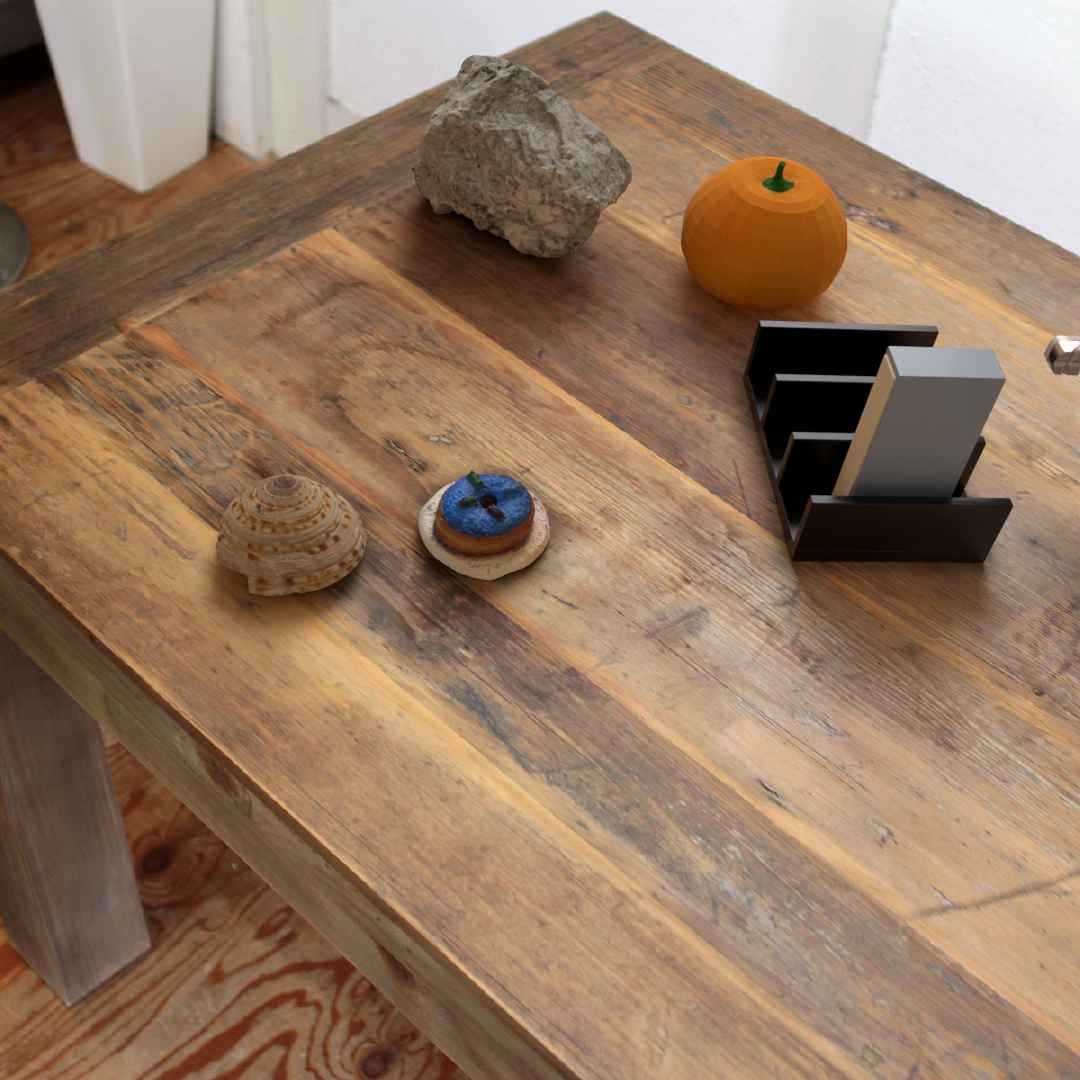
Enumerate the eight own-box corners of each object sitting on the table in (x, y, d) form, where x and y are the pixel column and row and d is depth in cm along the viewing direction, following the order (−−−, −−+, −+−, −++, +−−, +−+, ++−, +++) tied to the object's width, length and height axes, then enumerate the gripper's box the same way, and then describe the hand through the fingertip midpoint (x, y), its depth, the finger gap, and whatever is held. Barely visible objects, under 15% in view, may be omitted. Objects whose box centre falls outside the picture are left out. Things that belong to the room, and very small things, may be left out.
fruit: (844, 338, 94) (885, 217, 86) (679, 326, 93) (706, 203, 85) (818, 239, 102) (854, 121, 94) (666, 227, 101) (690, 107, 93)
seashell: (191, 577, 71) (226, 440, 73) (212, 607, 76) (244, 478, 79) (343, 601, 71) (373, 464, 73) (354, 630, 76) (381, 500, 79)
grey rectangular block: (935, 529, 80) (1006, 379, 72) (837, 528, 80) (897, 375, 71) (924, 499, 82) (992, 348, 73) (828, 498, 81) (885, 345, 73)
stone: (577, 237, 88) (389, 126, 90) (570, 317, 100) (404, 218, 102) (652, 131, 90) (467, 24, 92) (636, 221, 102) (473, 126, 104)
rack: (913, 383, 91) (936, 325, 88) (984, 563, 80) (1014, 506, 77) (742, 378, 90) (758, 319, 86) (791, 561, 79) (812, 503, 75)
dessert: (469, 596, 74) (445, 494, 72) (411, 579, 79) (387, 483, 77) (582, 549, 78) (562, 451, 76) (520, 536, 83) (500, 444, 81)
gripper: (1254, 261, 81) (1039, 251, 79) (1433, 504, 67) (1177, 499, 65) (1205, 343, 85) (1001, 335, 83) (1363, 586, 72) (1122, 583, 70)
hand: (1079, 409), depth 74 cm, fingers open, 8 cm apart
